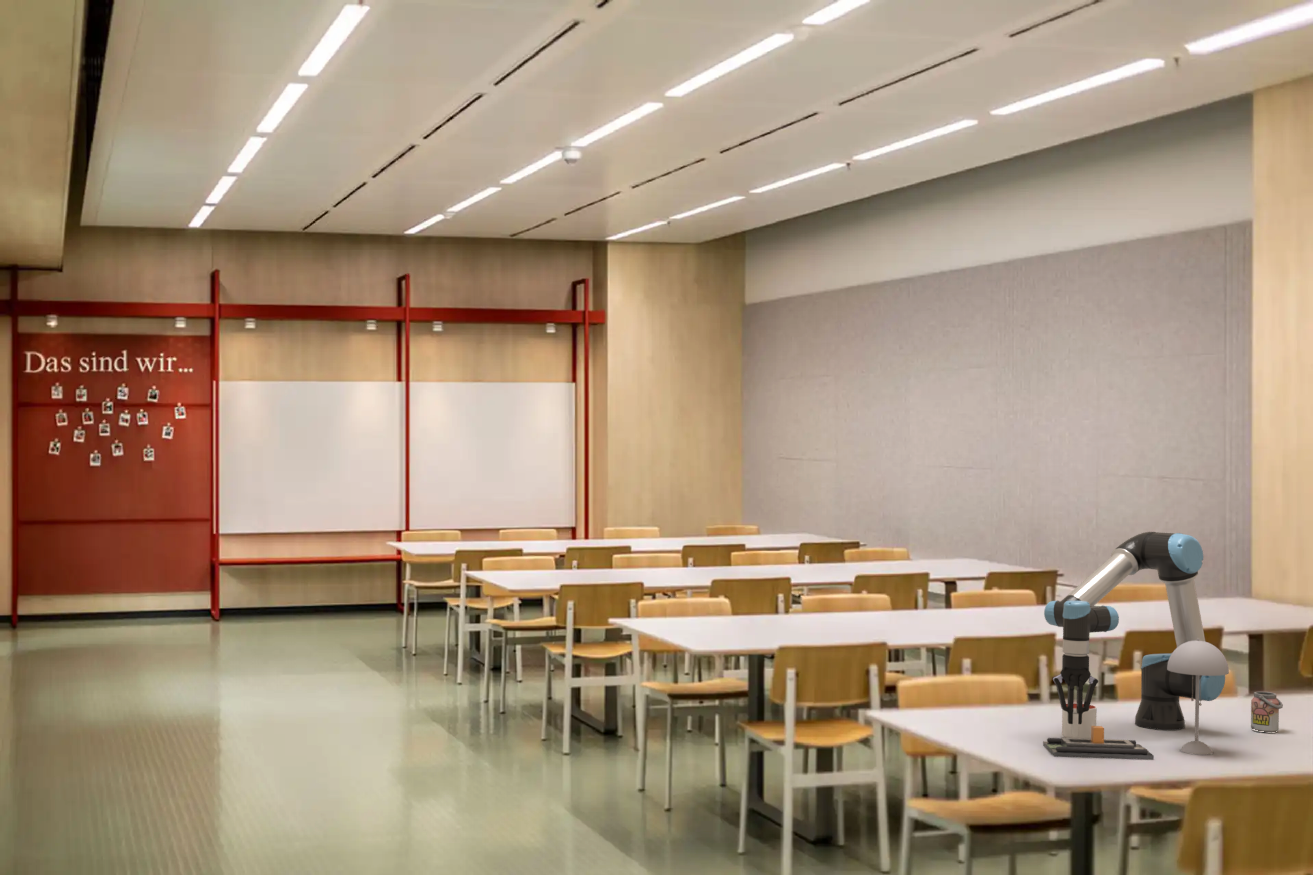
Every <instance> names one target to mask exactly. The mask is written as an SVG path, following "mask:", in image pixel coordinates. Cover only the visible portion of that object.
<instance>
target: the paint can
mask: <svg viewBox="0 0 1313 875" xmlns="http://www.w3.org/2000/svg"><path fill="white" fill-rule="evenodd" d="M1250 703H1251V704H1250V729H1251V730H1252V729H1255V730H1258V731H1264V732H1276V731H1277V732H1278V731H1279V727H1280V726H1279V725H1280V724H1279V722H1280V721H1279V719H1280V715H1279V714H1280V709H1283V706H1284V704H1283V703H1282V701H1281V700H1280V699H1279V698H1277V693H1275V692H1270V691H1254V692H1253V697H1252V698H1251V702H1250ZM1277 732H1276V733H1277Z"/></svg>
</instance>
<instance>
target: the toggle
mask: <svg viewBox="0 0 1313 875" xmlns="http://www.w3.org/2000/svg"><path fill="white" fill-rule="evenodd" d="M1104 739H1105V727H1103V726H1102V725H1096V726H1091V741H1089V743H1105V742H1104Z"/></svg>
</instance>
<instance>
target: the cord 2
mask: <svg viewBox="0 0 1313 875" xmlns="http://www.w3.org/2000/svg"><path fill="white" fill-rule="evenodd" d="M1147 750H1148V749H1120V748H1087V747H1056V751H1058V752H1088V753H1121V754H1148V751H1149V750H1148V751H1147Z"/></svg>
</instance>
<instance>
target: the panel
mask: <svg viewBox="0 0 1313 875" xmlns="http://www.w3.org/2000/svg"><path fill="white" fill-rule="evenodd" d="M1060 738H1061V743H1049V742H1047V740H1045V741H1044V740H1043V742H1042V746H1043V747H1044V748H1045V749H1046V750H1047V751H1048V753H1049V754H1051V756H1053V757H1054V758H1055V757H1056V758H1085V759H1086V758H1087V759H1089V758H1090V759H1114V760H1115V759H1119V760H1120V759H1121V760H1145V761H1146V760H1151V761H1153V760H1155V759H1154V754H1153V753H1151V752H1150V751H1149V750H1148V749H1147V751H1148V754H1121V753H1088V752H1058V751H1056V747H1087V748H1120V749H1146V747H1144V746H1142V745H1141V744H1138V743H1136V745H1134V744H1132V743H1131V742H1130V741H1129V739H1112V738H1111V739H1110V738H1108V739H1107V738H1104V742H1105V743H1089V741H1091V739H1082V738H1064V737H1060Z"/></svg>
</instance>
